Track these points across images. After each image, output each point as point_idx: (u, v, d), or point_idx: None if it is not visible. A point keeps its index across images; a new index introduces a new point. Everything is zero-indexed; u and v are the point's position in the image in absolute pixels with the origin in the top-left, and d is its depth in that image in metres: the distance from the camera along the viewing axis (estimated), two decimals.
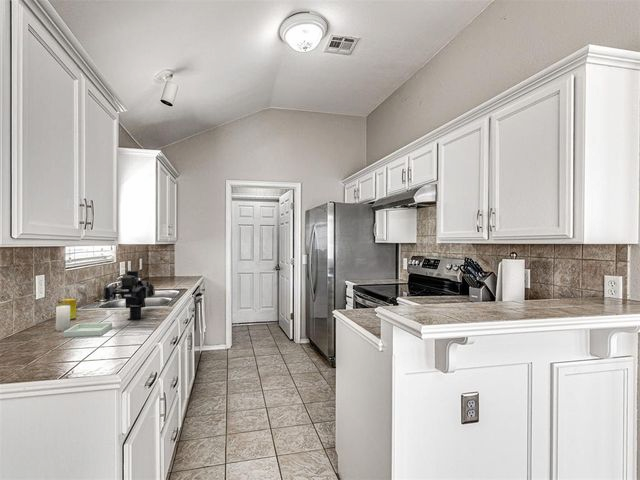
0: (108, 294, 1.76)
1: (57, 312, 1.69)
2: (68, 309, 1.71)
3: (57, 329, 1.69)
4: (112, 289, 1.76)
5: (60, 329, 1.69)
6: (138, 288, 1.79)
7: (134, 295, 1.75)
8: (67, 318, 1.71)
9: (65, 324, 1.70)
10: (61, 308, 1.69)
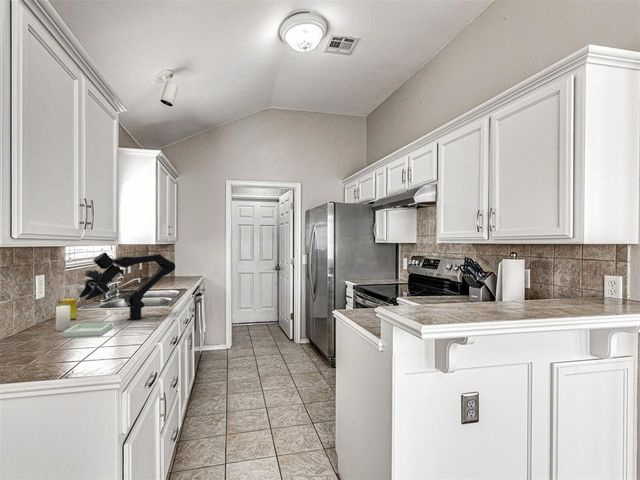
0: None
1: (57, 312, 1.69)
2: (68, 309, 1.71)
3: (57, 329, 1.69)
4: (85, 285, 1.83)
5: (60, 329, 1.69)
6: (93, 286, 1.75)
7: (90, 297, 1.75)
8: (67, 318, 1.71)
9: (65, 324, 1.70)
10: (61, 308, 1.69)
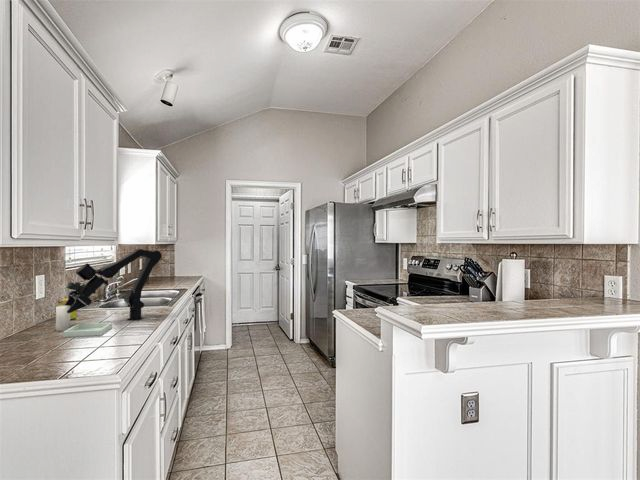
0: None
1: (57, 312, 1.69)
2: (68, 309, 1.71)
3: (57, 329, 1.69)
4: (68, 297, 1.78)
5: (60, 329, 1.69)
6: (75, 299, 1.70)
7: (72, 309, 1.70)
8: (67, 318, 1.71)
9: (65, 324, 1.70)
10: (61, 308, 1.69)
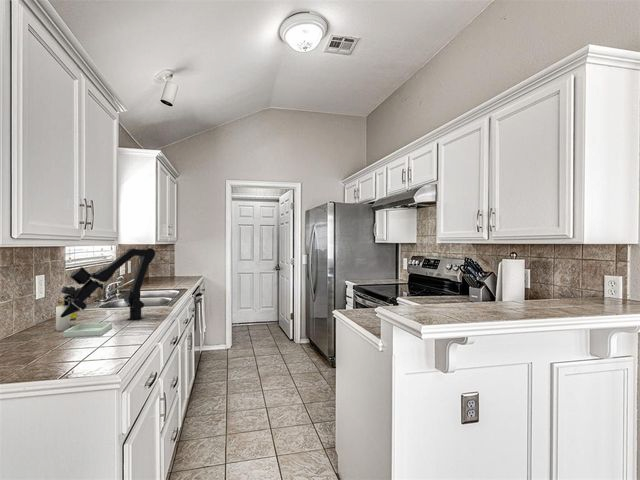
0: None
1: (57, 312, 1.69)
2: None
3: (57, 329, 1.69)
4: (64, 302, 1.75)
5: (60, 329, 1.69)
6: (69, 303, 1.70)
7: (66, 314, 1.69)
8: (67, 318, 1.71)
9: (65, 324, 1.70)
10: (61, 308, 1.69)
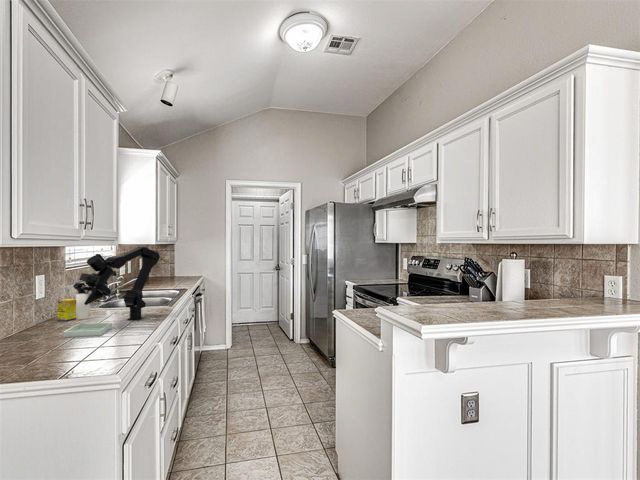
0: None
1: (79, 300, 1.65)
2: None
3: (80, 317, 1.65)
4: (80, 290, 1.70)
5: (83, 317, 1.65)
6: (93, 290, 1.67)
7: (89, 301, 1.66)
8: (89, 305, 1.68)
9: (88, 312, 1.67)
10: (84, 295, 1.65)
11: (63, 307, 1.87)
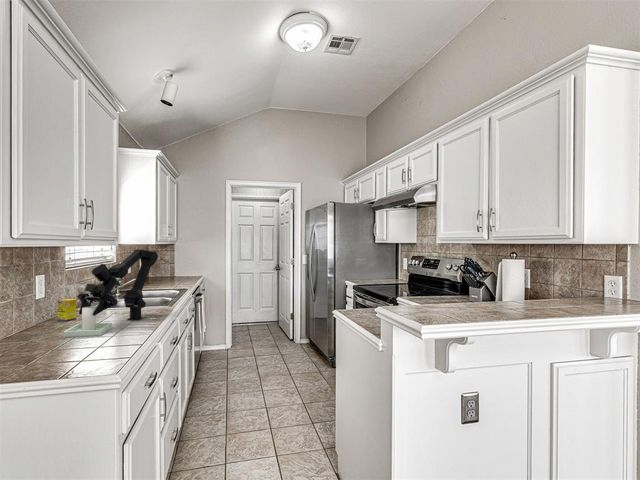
0: None
1: (86, 314, 1.64)
2: None
3: None
4: (83, 300, 1.69)
5: None
6: (101, 300, 1.67)
7: (98, 311, 1.66)
8: (95, 319, 1.68)
9: (94, 325, 1.67)
10: (91, 309, 1.65)
11: (63, 307, 1.87)
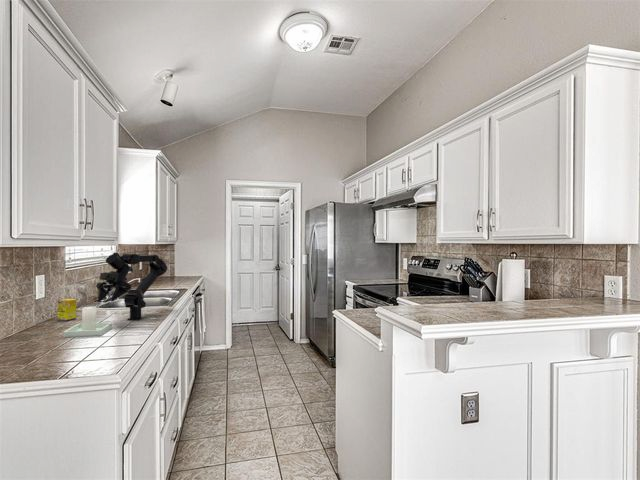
0: None
1: (86, 314, 1.64)
2: None
3: None
4: (100, 288, 1.80)
5: None
6: (116, 286, 1.76)
7: (115, 297, 1.76)
8: (95, 319, 1.68)
9: (94, 325, 1.67)
10: (91, 309, 1.65)
11: (63, 307, 1.87)
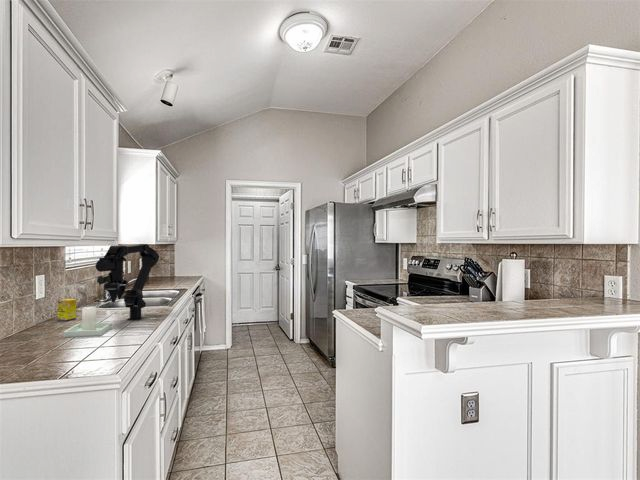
0: None
1: (86, 314, 1.64)
2: None
3: None
4: None
5: None
6: None
7: (113, 298, 1.78)
8: (95, 319, 1.68)
9: (94, 325, 1.67)
10: (91, 309, 1.65)
11: (63, 307, 1.87)
